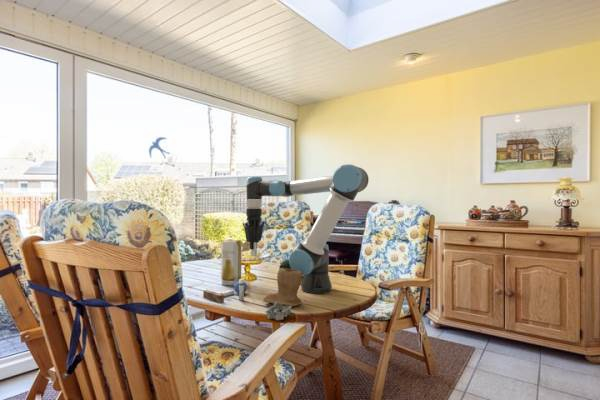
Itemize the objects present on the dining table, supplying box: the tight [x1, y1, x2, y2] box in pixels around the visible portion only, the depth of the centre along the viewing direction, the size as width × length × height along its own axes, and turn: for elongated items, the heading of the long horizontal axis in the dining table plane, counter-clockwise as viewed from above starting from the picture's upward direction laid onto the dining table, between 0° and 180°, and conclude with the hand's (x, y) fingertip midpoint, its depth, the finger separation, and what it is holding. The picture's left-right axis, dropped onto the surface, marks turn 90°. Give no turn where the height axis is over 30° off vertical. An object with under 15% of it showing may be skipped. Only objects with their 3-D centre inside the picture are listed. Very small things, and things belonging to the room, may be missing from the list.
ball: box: [233, 281, 248, 294], centre depth 156 cm, size 6×6×6 cm
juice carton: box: [220, 237, 242, 286], centre depth 173 cm, size 9×8×24 cm
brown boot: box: [262, 268, 303, 307], centre depth 141 cm, size 15×12×15 cm
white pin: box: [218, 289, 235, 298], centre depth 151 cm, size 2×2×9 cm
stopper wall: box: [202, 289, 225, 304], centre depth 146 cm, size 12×2×3 cm, turn 50°
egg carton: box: [264, 301, 293, 321], centre depth 127 cm, size 11×8×4 cm
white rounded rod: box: [238, 278, 245, 302], centre depth 145 cm, size 2×2×9 cm
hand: (253, 255), depth 164 cm, fingers closed
